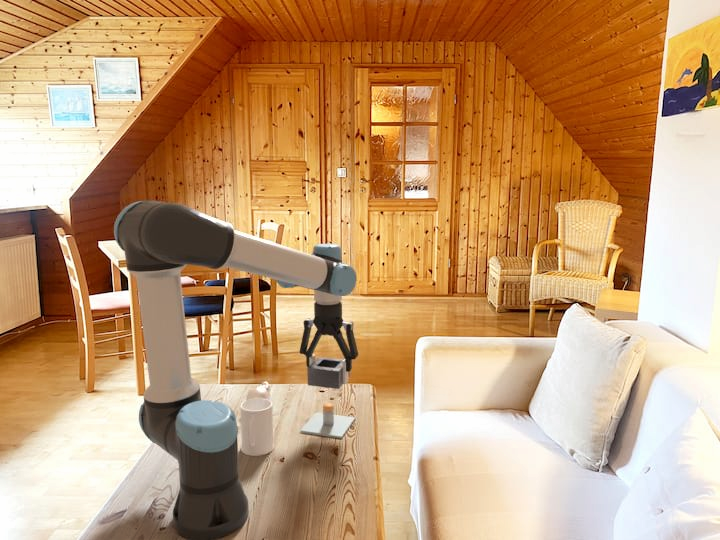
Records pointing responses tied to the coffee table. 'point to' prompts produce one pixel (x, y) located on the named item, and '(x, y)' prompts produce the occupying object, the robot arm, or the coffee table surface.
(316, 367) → the hollow square block
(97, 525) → the coffee table surface
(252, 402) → the mug
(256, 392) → the figurine
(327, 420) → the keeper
